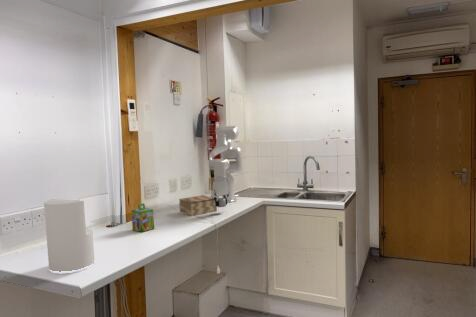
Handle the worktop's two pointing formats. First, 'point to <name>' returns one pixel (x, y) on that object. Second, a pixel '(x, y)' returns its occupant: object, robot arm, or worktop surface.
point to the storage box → (197, 208)
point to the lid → (196, 199)
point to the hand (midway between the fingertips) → (221, 205)
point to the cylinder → (67, 235)
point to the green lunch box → (142, 219)
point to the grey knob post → (222, 202)
